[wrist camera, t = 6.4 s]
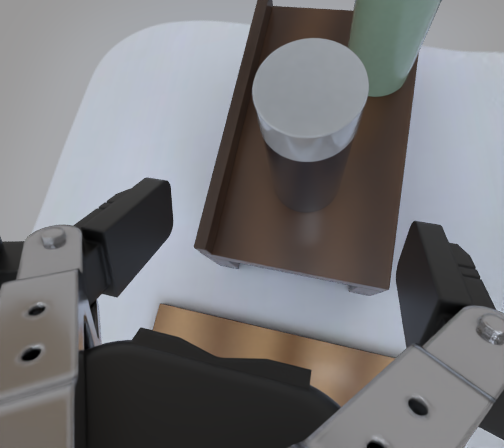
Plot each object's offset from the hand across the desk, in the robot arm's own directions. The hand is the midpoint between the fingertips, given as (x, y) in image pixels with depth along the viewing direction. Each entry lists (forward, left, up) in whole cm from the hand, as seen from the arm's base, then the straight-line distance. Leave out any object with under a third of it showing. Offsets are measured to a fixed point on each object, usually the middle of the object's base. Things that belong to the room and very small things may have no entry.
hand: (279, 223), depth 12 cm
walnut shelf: (-3, -9, -17) cm, 19 cm away
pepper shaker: (-2, -5, -11) cm, 12 cm away
